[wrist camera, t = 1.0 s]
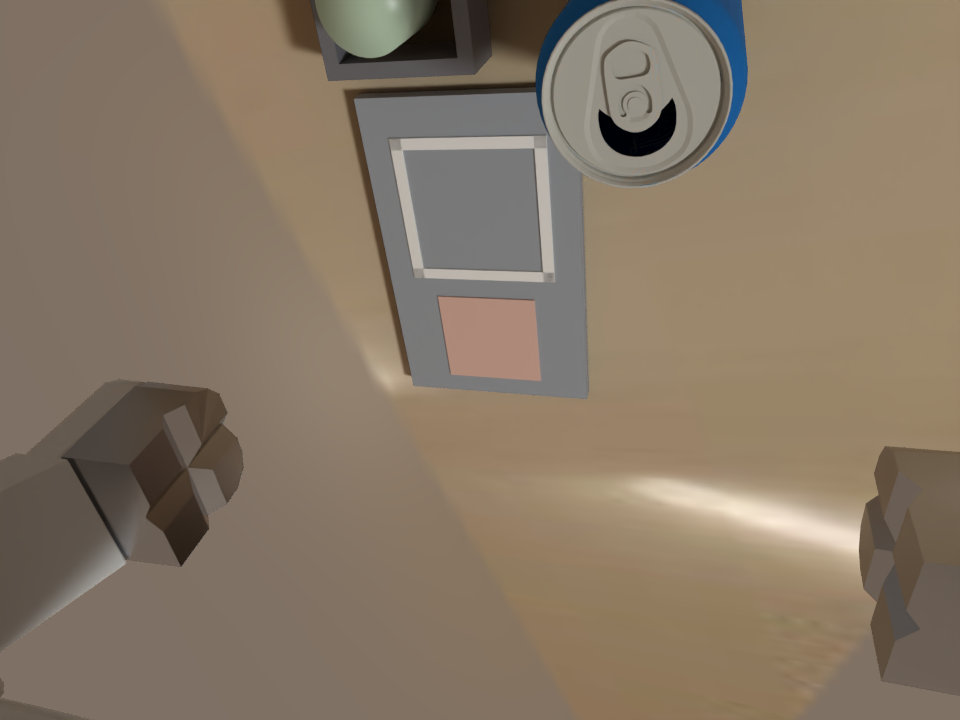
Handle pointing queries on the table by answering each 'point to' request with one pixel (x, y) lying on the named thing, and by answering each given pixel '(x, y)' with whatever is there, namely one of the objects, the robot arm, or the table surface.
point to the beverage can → (641, 85)
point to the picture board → (480, 239)
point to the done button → (373, 23)
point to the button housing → (417, 50)
